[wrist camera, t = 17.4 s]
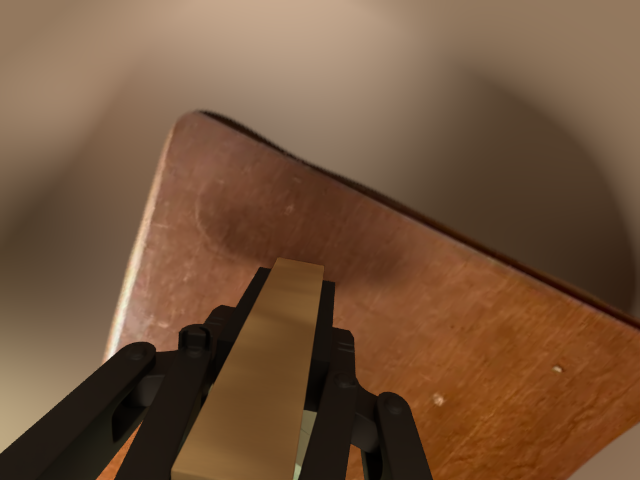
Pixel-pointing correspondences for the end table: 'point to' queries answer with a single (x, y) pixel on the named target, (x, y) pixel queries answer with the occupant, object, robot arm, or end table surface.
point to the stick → (259, 386)
